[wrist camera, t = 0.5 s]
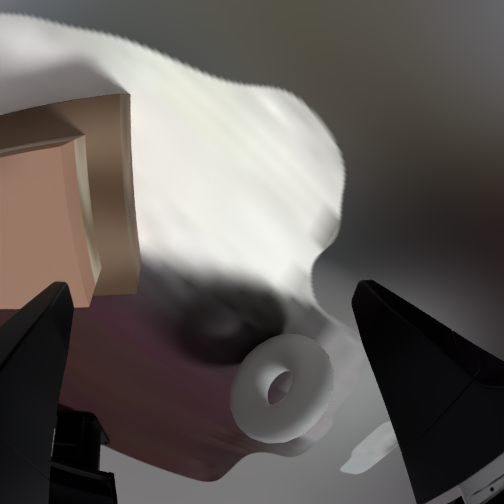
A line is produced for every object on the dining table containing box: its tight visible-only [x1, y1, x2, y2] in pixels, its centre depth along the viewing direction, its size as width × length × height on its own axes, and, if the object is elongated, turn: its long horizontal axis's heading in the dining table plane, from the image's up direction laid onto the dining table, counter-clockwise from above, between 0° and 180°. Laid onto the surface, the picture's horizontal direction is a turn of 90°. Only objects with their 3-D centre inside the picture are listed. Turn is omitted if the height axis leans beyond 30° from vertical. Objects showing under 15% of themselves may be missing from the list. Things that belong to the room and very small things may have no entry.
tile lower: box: [0, 135, 101, 285], centre depth 15 cm, size 8×8×2 cm
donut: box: [230, 334, 334, 443], centre depth 25 cm, size 10×4×10 cm, turn 131°
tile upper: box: [0, 140, 96, 309], centre depth 13 cm, size 8×8×2 cm
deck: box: [0, 94, 141, 296], centre depth 17 cm, size 12×14×4 cm
